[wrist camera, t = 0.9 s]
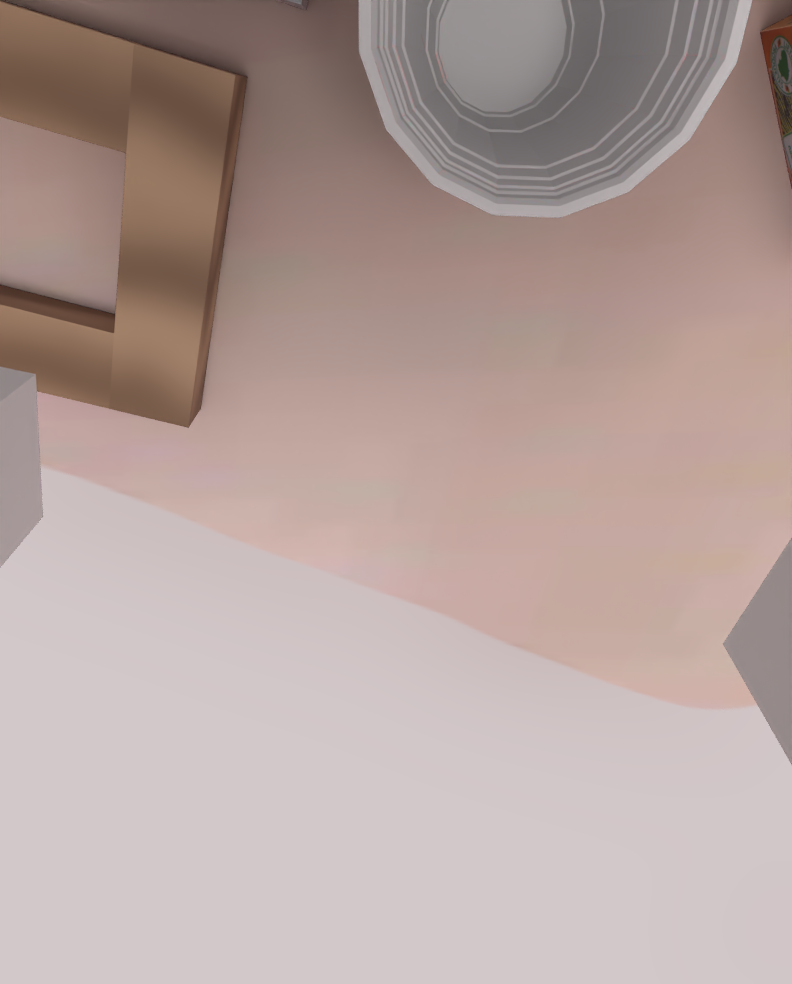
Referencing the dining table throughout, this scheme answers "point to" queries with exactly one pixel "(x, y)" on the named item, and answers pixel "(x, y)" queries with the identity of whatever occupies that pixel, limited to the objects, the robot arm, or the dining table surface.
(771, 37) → the milk carton
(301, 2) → the tray
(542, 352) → the dining table surface
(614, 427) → the dining table surface
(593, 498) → the dining table surface
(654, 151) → the plastic cup
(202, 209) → the frame
